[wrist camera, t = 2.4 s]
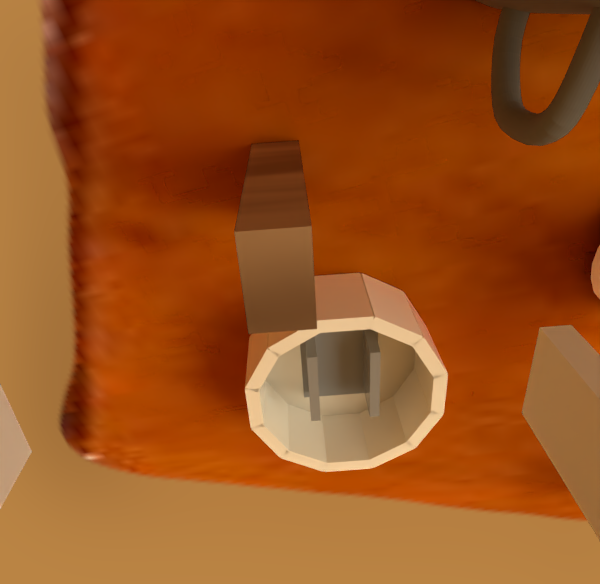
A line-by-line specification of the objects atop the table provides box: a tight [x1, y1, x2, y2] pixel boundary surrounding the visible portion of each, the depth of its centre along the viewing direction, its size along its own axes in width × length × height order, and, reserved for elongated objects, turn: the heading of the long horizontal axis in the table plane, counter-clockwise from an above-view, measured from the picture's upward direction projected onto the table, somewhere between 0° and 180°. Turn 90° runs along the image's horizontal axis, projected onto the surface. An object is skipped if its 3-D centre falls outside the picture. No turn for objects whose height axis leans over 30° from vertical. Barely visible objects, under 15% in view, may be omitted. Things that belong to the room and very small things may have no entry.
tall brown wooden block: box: [234, 140, 317, 334], centre depth 22 cm, size 4×2×12 cm, turn 4°
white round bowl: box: [245, 273, 448, 472], centre depth 31 cm, size 12×12×5 cm
